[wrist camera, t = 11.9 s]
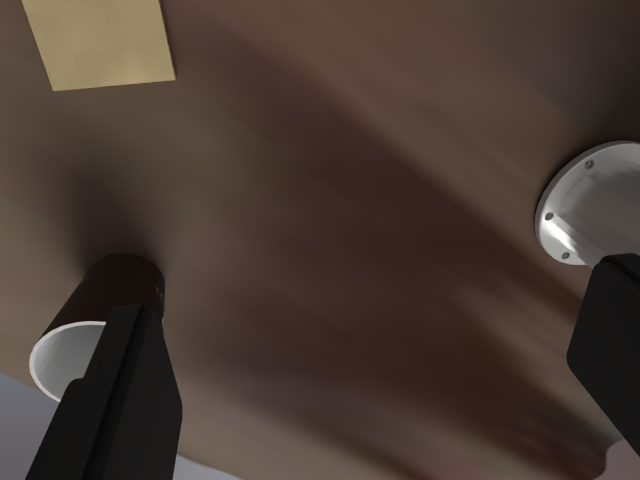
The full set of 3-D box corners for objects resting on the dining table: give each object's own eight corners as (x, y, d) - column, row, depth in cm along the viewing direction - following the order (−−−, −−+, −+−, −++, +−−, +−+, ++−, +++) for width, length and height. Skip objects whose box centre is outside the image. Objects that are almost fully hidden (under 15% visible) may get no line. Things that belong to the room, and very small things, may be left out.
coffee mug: (107, 223, 38) (71, 300, 29) (197, 276, 41) (188, 357, 33) (35, 315, 41) (-16, 407, 32) (125, 355, 45) (99, 448, 36)
